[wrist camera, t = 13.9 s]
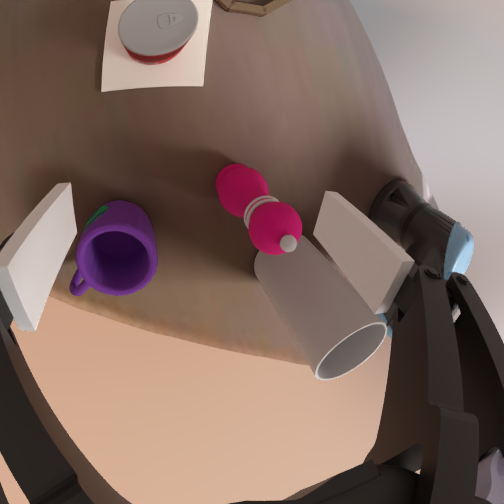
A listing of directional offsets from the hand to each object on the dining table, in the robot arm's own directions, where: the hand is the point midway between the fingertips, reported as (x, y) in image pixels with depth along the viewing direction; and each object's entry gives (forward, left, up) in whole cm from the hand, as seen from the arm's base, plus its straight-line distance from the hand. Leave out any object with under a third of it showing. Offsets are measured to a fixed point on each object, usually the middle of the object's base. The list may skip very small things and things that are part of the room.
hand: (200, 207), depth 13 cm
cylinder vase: (-22, +25, -28) cm, 43 cm away
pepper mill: (-11, +9, -28) cm, 31 cm away
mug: (+10, +17, -28) cm, 34 cm away
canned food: (+2, -13, -27) cm, 30 cm away
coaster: (+2, -13, -28) cm, 31 cm away
